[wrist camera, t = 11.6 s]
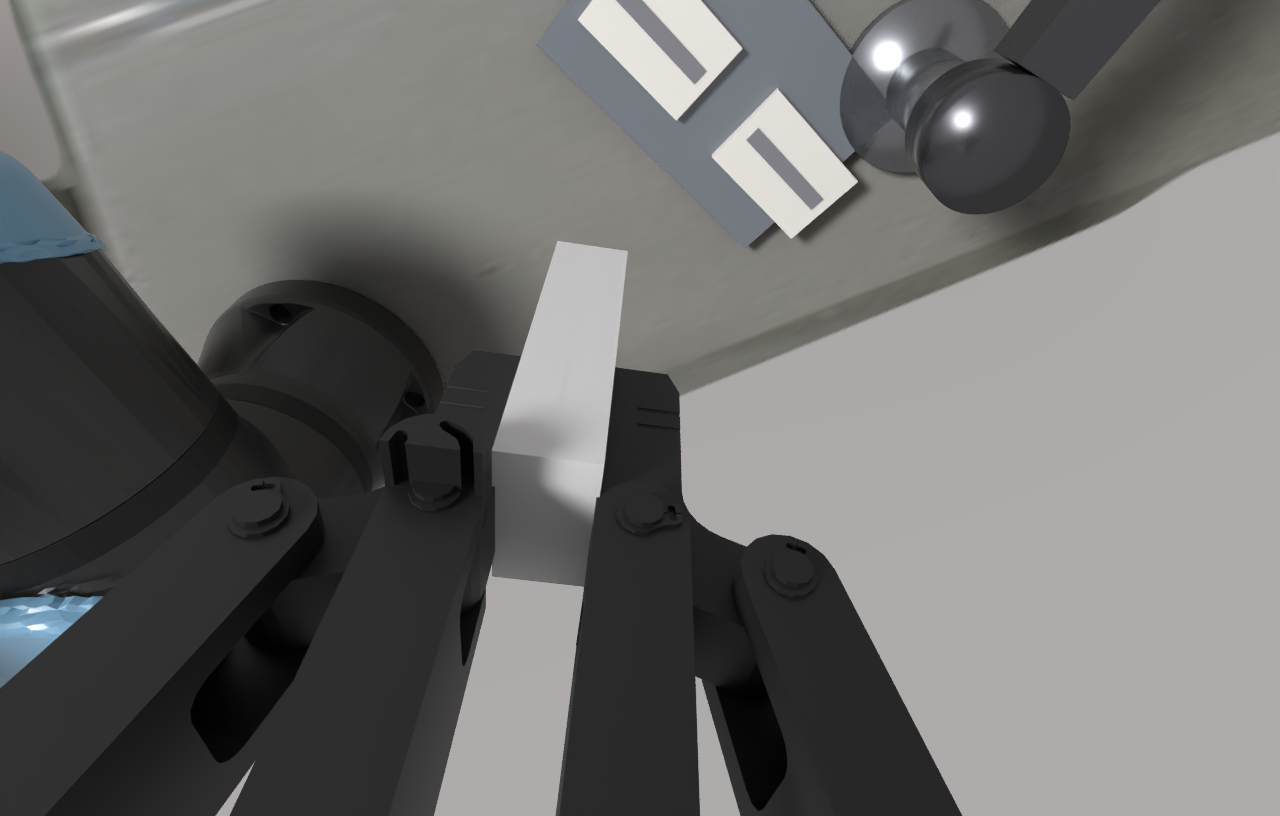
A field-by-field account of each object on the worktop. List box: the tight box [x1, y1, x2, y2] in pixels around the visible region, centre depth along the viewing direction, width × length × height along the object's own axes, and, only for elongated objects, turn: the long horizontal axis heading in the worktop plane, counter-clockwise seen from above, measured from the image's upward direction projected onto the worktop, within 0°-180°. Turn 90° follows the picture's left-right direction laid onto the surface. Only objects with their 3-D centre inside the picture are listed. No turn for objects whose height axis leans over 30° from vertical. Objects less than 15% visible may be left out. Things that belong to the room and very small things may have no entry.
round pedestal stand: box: [840, 0, 1013, 173], centre depth 29 cm, size 8×8×6 cm
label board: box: [536, 0, 892, 248], centre depth 32 cm, size 10×16×1 cm, turn 47°
